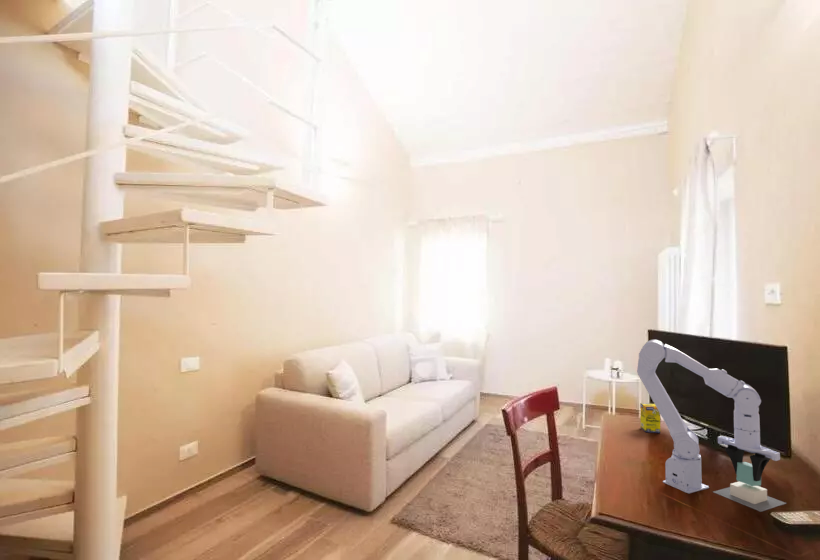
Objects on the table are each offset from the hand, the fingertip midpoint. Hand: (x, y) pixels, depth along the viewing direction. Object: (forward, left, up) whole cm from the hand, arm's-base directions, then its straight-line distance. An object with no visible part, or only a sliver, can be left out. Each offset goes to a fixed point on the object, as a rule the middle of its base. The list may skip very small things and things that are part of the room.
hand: (747, 477), depth 117 cm
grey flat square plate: (0, 0, -6) cm, 6 cm away
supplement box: (+29, +52, -6) cm, 60 cm away
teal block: (0, 0, -2) cm, 2 cm away
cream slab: (0, 0, -6) cm, 6 cm away
